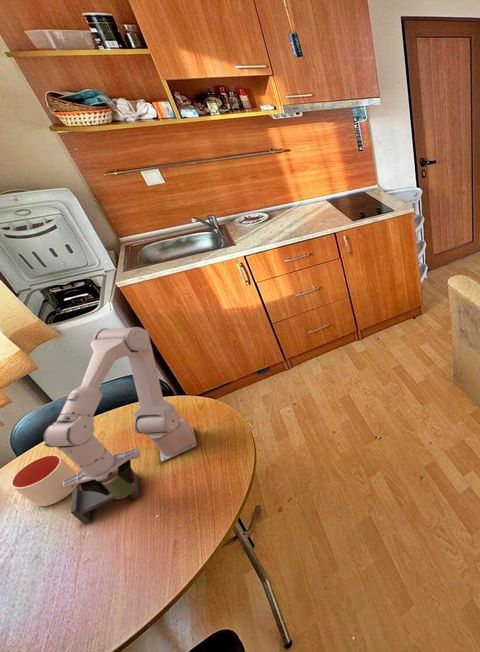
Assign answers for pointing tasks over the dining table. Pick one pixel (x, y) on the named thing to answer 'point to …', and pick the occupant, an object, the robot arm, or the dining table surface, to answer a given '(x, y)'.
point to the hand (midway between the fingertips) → (120, 486)
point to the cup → (44, 480)
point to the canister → (117, 485)
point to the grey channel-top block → (93, 501)
